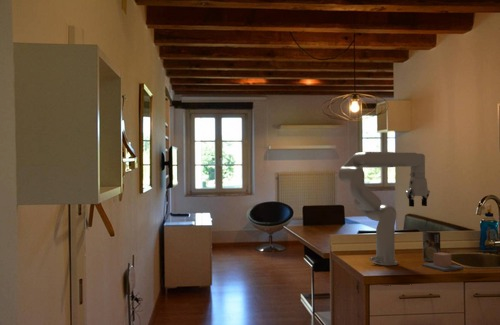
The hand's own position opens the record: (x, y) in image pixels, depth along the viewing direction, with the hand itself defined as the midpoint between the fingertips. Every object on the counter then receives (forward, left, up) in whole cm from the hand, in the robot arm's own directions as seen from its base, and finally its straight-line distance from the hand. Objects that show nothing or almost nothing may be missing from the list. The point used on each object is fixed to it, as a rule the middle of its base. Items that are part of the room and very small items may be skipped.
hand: (417, 206), depth 244 cm
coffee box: (+7, -3, -31) cm, 31 cm away
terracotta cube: (-2, -18, -29) cm, 34 cm away
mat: (-2, -18, -30) cm, 35 cm away
